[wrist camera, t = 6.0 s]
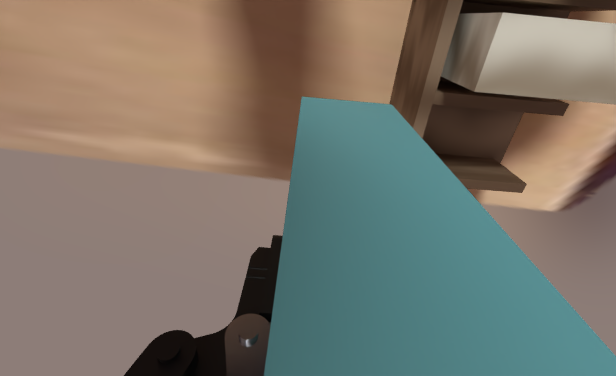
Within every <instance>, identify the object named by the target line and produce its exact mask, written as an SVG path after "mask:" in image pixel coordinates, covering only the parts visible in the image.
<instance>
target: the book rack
mask: <svg viewBox="0 0 616 376" xmlns="http://www.w3.org/2000/svg"><path fill="white" fill-rule="evenodd" d="M606 10H616V0H413V1H412V5H411V10H410V14H409V19H408V23H407V28H406V32H405V37H404V41H403V46H402V50H401V55H400V59H399V64H398V68H397V73H396V77H395V82H394V86H393V91H392V95H391V100H390V104H391V105H393V106H394V108H395V109H396V110H397V111H398V112H399V113H400V114H401V115H402V117H403V118H404V119H405V120H406V121H407V122H408V123H409V124H410V126H411V127H412V128H413V129H414V130H415V131H416V132H417V133H418V135H419V136H420V137H421V138H422V139H423V140H424V141H425V142H426V144H427V145H428V146H429V147H430V148H431V149H432V150H433V151H434V153H435V154H436V155H437V156H438V157H439V158H440V159H441V160H442V162H443V163H444V164H445V165H446V166H447V167H448V168H449V169H450V171H451V172H452V173H453V174H454V175H455V176H456V177H457V178H458V180H459V181H460V182H461V183H462V184H463V185H464V186H465V187H466V188H469V189H481V190H493V191H506V192H518V193H522V192H523V190H524V188H525V186H526V183H525V182H523V181H522V180H521V179H520V178H518V177H517V176H516V175H514V174H513V173H512V172H511V171H509V170H508V169H507V168H505V167H504V166H503V165H502V164H500V163H501V161H502V158H503V156H504V154H505V152H506V150H507V148H508V145H509V143H510V141H511V139H512V137H513V135H514V132H515V130H516V128H517V126H518V124H519V122H520V119H521V117H522V115H523V113H524V112H526V113H537V114H549V115H560V116H563V115H564V113H565V111H566V109H567V107H568V106H569V104H568V103H565V102H562V101H559V100H556V99H560V100H571V101H582V102H593V103H604V104H615V105H616V24H614V23H604V22H593V21H583V20H573V19H567V17H568V15H569V13H570V11H606Z"/></svg>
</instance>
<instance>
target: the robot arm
mask: <svg viewBox="0 0 616 376" xmlns="http://www.w3.org/2000/svg"><path fill="white" fill-rule="evenodd" d="M282 238H283V236H277V235H273V238H272V244H271V248H264V247H259V248H258V249H257V250H256V251H255V252H254V253H253V255H252V256H251V259H250V263H249V266H248V271H247V274H246V278H245V282H244V286H243V290H242V294H241V298H240V302H239V305H238V310H237V313H236V315H235V317H234V319H233V320H232V322H231V323H230V324H229V325H228V326H227V327H225V328H224V329H222V330H221V331H219V332H216V333H213V334H210V335H206V336H202V337H198V338H193V337H192V335H191V334H189V333H188V332H185V331H182V330H173V331H169V332H166V333H164V334H162V335H160V336H159V337H157V338H155V339H154V340H153V341H152V342H151V343H150V344H149V345H148V346H147V348H146V349H145V350H144V351H143V353H142V354H141V355H140V356H139V358H138V359H137V360H136V361H135V362H134V364H133V365H132V366H131V368H130V369H129V370H128V371H127V372H126V374H125V375H124V376H264V371H265V363H266V356H267V349H268V341H269V334H270V326H271V319H272V312H273V304H274V297H275V290H276V282H277V275H278V268H279V260H280V253H281V246H282Z"/></svg>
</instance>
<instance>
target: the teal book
mask: <svg viewBox="0 0 616 376" xmlns="http://www.w3.org/2000/svg"><path fill="white" fill-rule="evenodd" d="M264 376H616V356H615V355H614V354H613V353H612V352H611V351H610V349H609V348H608V347H607V346H606V345H605V344H604V343H603V341H602V340H601V339H600V338H599V337H598V336H597V335H596V334H595V333H594V331H593V330H592V329H591V328H590V327H589V326H588V325H587V324H586V322H585V321H584V320H583V319H582V318H581V317H580V316H579V314H578V313H577V312H576V311H575V310H574V309H573V308H572V307H571V305H570V304H569V303H568V302H567V301H566V300H565V299H564V298H563V296H562V295H561V294H560V293H559V292H558V291H557V290H556V289H555V287H554V286H553V285H552V284H551V283H550V282H549V281H548V280H547V278H546V277H545V276H544V275H543V274H542V273H541V272H540V271H539V269H538V268H537V267H536V266H535V265H534V264H533V263H532V262H531V260H530V259H529V258H528V257H527V256H526V255H525V254H524V253H523V251H522V250H521V249H520V248H519V247H518V246H517V245H516V244H515V242H514V241H513V240H512V239H511V238H510V237H509V236H508V235H507V233H506V232H505V231H504V230H503V229H502V228H501V227H500V226H499V224H498V223H497V222H496V221H495V220H494V219H493V218H492V217H491V215H490V214H489V213H488V212H487V211H486V210H485V209H484V208H483V207H482V205H481V204H480V203H479V202H478V201H477V200H476V199H475V197H474V196H473V195H472V194H471V193H470V192H469V191H468V190H467V189H466V187H465V186H464V185H463V184H462V183H461V182H460V181H459V180H458V178H457V177H456V176H455V175H454V174H453V173H452V172H451V171H450V169H449V168H448V167H447V166H446V165H445V164H444V163H443V162H442V160H441V159H440V158H439V157H438V156H437V155H436V154H435V153H434V151H433V150H432V149H431V148H430V147H429V146H428V145H427V144H426V142H425V141H424V140H423V139H422V138H421V137H420V136H419V135H418V133H417V132H416V131H415V130H414V129H413V128H412V127H411V126H410V124H409V123H408V122H407V121H406V120H405V119H404V118H403V117H402V115H401V114H400V113H399V112H398V111H397V110H396V109H395V108H394V106H393V105H391V104H380V103H368V102H357V101H346V100H334V99H323V98H312V97H302V99H301V106H300V113H299V121H298V128H297V135H296V143H295V150H294V157H293V165H292V172H291V180H290V187H289V194H288V202H287V210H286V216H285V224H284V231H283V238H282V246H281V253H280V260H279V268H278V275H277V282H276V290H275V297H274V304H273V312H272V319H271V326H270V334H269V341H268V349H267V356H266V363H265V371H264Z"/></svg>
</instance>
